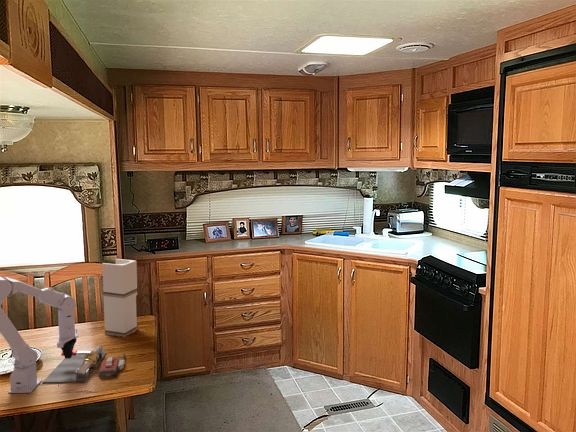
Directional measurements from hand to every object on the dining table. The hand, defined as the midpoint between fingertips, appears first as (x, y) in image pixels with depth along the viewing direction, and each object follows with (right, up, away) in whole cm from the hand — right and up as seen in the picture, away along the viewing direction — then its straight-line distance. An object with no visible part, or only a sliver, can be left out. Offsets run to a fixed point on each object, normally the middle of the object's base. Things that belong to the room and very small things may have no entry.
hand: (68, 357), depth 189 cm
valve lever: (+2, 0, +5) cm, 5 cm away
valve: (+7, -6, +6) cm, 10 cm away
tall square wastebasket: (+6, -1, +44) cm, 45 cm away
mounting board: (+1, -6, +5) cm, 8 cm away
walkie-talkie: (+15, -6, +7) cm, 18 cm away
